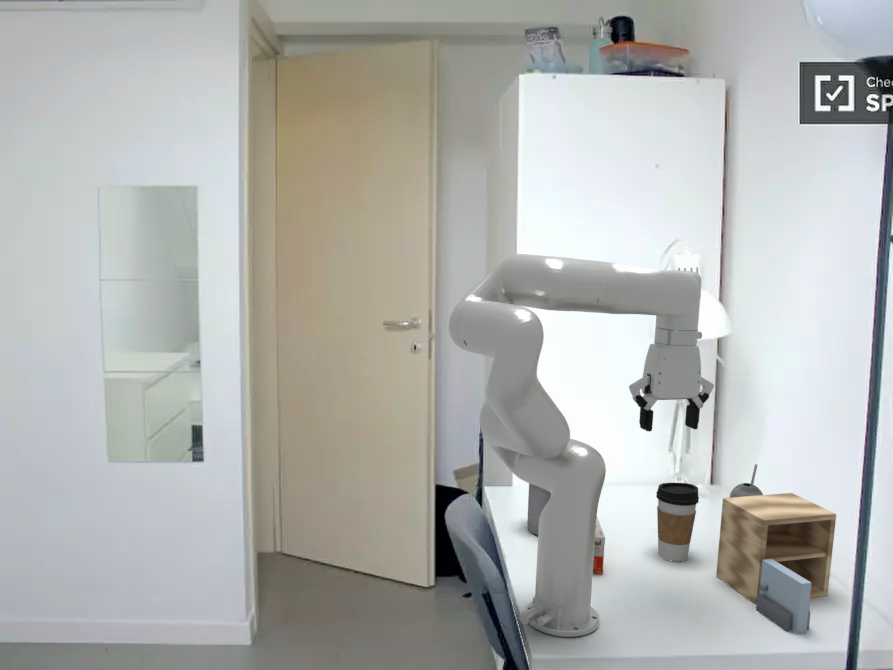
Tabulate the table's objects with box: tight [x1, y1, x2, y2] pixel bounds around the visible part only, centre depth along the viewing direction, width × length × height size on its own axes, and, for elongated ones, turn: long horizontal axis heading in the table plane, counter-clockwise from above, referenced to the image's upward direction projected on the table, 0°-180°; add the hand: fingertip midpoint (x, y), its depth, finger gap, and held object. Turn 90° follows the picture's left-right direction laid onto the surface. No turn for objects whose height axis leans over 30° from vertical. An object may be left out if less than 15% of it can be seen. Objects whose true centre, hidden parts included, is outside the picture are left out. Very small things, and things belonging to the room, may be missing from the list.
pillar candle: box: [526, 483, 551, 536], centre depth 180 cm, size 10×10×15 cm
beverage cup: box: [728, 463, 764, 498], centre depth 170 cm, size 7×7×20 cm
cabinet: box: [715, 492, 837, 605], centre depth 156 cm, size 12×16×16 cm
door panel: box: [759, 559, 811, 635], centre depth 143 cm, size 10×3×9 cm, turn 17°
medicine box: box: [593, 516, 606, 575], centre depth 166 cm, size 15×8×8 cm, turn 178°
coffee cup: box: [655, 482, 700, 562], centre depth 169 cm, size 8×8×15 cm
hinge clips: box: [755, 594, 812, 632], centre depth 144 cm, size 8×5×3 cm, turn 17°
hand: (668, 428), depth 153 cm, fingers open, 9 cm apart
